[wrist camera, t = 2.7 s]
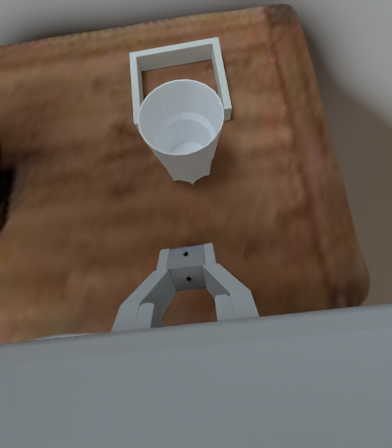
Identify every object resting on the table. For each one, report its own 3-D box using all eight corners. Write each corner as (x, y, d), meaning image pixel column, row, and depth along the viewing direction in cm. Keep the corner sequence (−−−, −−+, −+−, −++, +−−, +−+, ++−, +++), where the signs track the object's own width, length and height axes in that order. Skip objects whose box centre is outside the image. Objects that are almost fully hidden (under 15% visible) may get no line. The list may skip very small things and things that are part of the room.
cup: (169, 131, 31) (152, 74, 21) (224, 141, 30) (232, 86, 20) (153, 182, 29) (126, 146, 19) (210, 195, 28) (212, 162, 18)
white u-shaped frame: (229, 120, 30) (231, 108, 28) (139, 134, 31) (134, 123, 28) (217, 53, 33) (217, 37, 31) (135, 67, 34) (129, 52, 31)
